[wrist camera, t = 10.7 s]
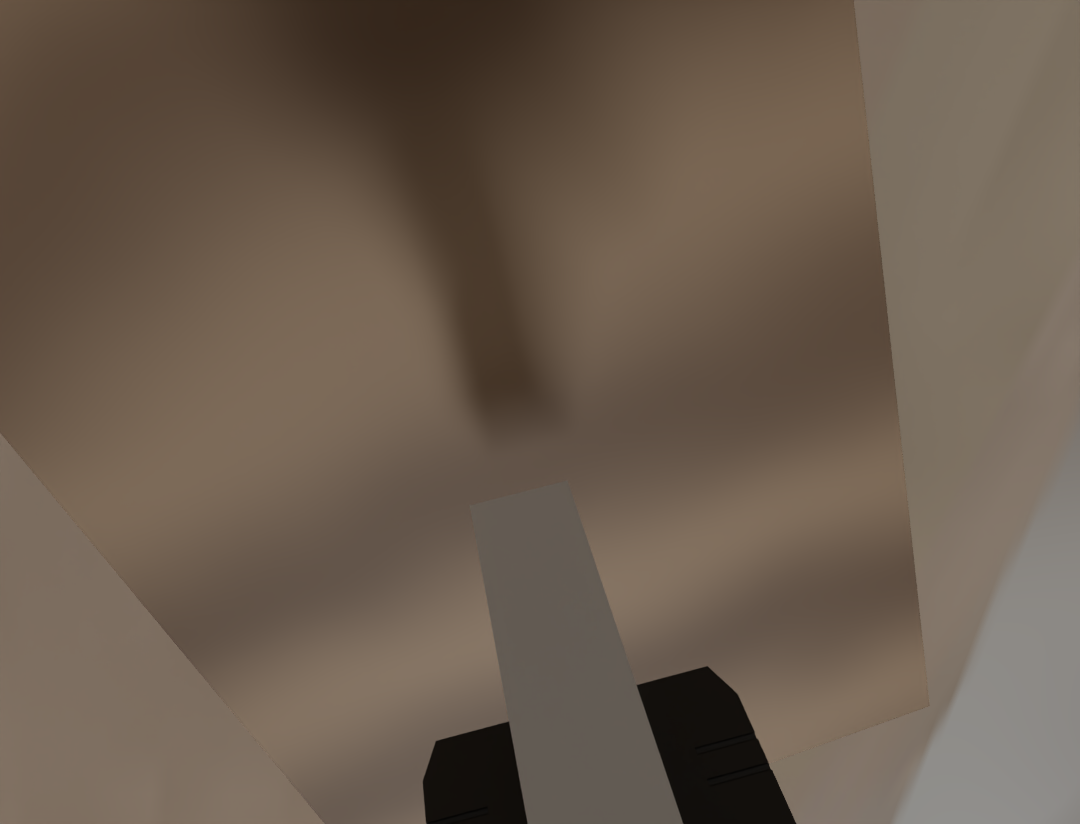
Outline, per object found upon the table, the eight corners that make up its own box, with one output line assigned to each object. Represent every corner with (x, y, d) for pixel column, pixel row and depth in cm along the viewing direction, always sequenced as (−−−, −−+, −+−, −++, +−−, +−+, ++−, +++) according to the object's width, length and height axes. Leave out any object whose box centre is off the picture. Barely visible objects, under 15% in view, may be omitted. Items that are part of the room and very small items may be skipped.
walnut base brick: (-151, -85, 15) (-391, -38, 10) (646, -399, 15) (798, -507, 10) (380, 705, 28) (388, 900, 23) (822, 544, 27) (929, 706, 22)
